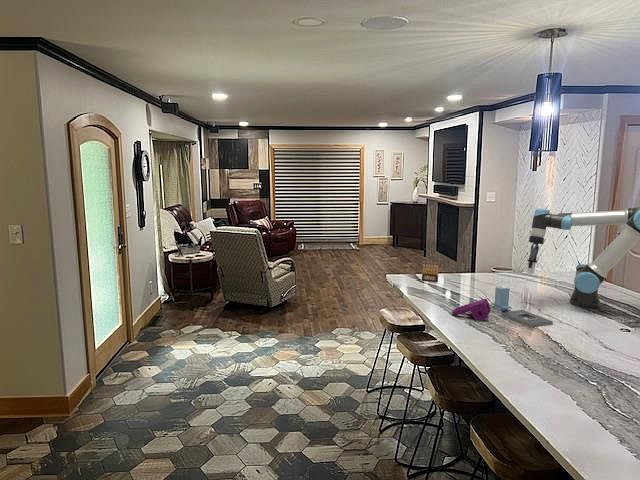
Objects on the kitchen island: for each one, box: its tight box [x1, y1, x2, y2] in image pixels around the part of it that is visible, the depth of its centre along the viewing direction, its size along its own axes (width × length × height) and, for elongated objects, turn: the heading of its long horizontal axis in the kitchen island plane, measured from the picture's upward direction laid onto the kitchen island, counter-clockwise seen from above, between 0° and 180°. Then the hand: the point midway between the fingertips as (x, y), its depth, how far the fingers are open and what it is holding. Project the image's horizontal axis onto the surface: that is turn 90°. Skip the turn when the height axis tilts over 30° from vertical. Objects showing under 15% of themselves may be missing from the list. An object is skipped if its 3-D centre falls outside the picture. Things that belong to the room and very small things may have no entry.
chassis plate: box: [500, 309, 554, 328], centre depth 241 cm, size 20×14×2 cm
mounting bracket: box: [451, 298, 491, 321], centre depth 245 cm, size 10×8×18 cm
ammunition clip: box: [421, 263, 439, 283], centre depth 320 cm, size 11×2×12 cm, turn 67°
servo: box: [490, 285, 513, 312], centre depth 258 cm, size 10×5×13 cm, turn 21°
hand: (529, 273), depth 265 cm, fingers open, 13 cm apart
